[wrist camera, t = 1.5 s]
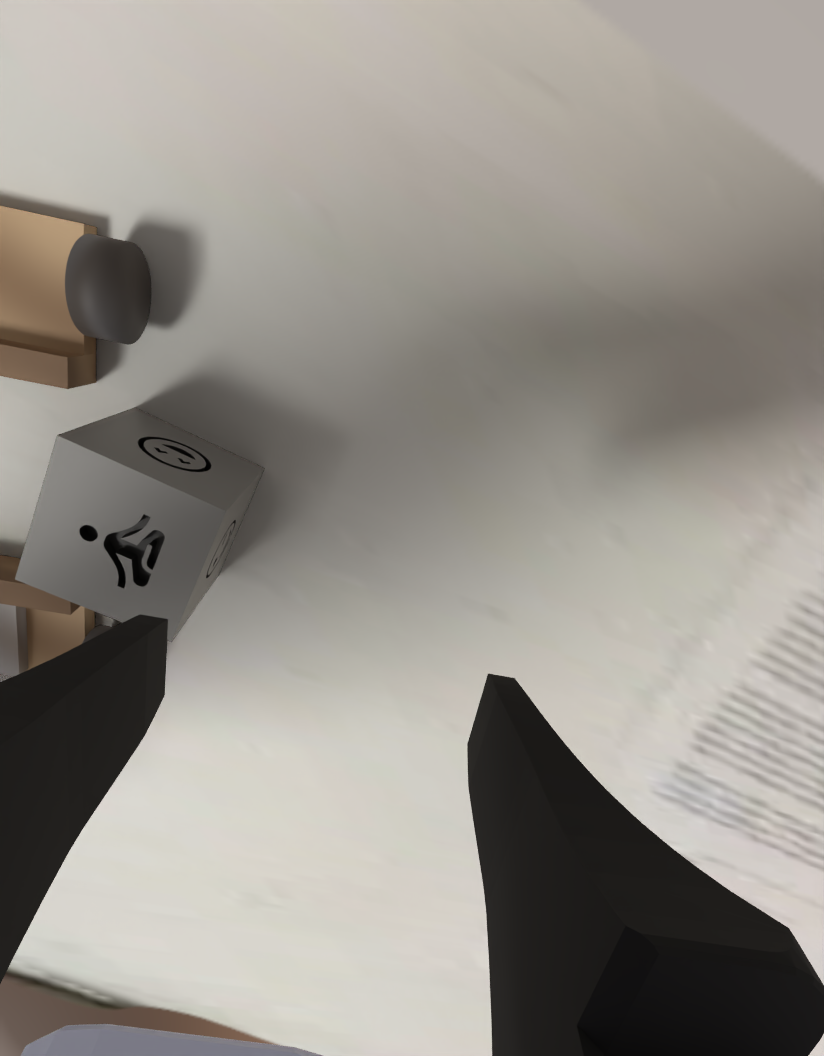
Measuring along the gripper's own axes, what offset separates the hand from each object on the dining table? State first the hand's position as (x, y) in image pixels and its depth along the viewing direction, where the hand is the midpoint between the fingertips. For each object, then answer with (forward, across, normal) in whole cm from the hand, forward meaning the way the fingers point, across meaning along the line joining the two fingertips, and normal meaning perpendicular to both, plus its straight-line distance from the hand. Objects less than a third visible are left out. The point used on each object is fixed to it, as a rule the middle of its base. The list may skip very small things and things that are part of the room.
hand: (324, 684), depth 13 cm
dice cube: (+10, +7, 0) cm, 13 cm away
